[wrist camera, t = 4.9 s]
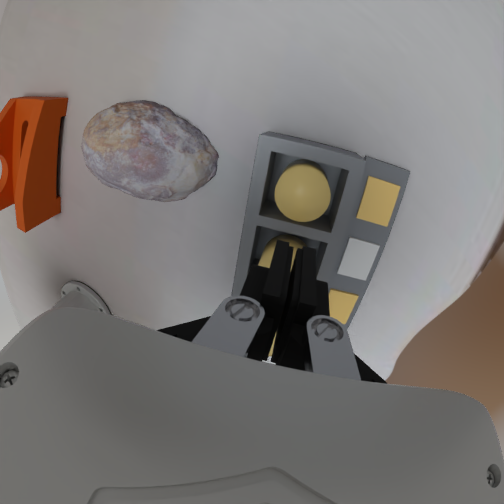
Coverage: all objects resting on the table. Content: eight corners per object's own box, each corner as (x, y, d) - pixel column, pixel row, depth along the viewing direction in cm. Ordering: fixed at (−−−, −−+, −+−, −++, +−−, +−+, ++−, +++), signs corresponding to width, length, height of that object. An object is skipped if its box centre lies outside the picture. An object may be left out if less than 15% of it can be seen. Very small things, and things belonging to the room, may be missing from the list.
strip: (344, 330, 36) (345, 335, 35) (309, 322, 36) (309, 327, 35) (408, 170, 25) (411, 172, 24) (365, 155, 25) (367, 157, 25)
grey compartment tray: (302, 321, 36) (299, 350, 31) (236, 304, 37) (225, 332, 32) (356, 153, 26) (366, 161, 21) (268, 131, 26) (259, 134, 22)
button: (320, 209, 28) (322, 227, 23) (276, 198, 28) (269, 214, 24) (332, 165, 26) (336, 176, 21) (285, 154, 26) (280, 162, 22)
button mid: (303, 280, 29) (300, 311, 24) (259, 270, 29) (249, 298, 25) (315, 241, 26) (315, 267, 22) (268, 229, 27) (258, 253, 22)
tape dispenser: (62, 211, 37) (25, 232, 30) (22, 193, 37) (-11, 210, 30) (70, 97, 28) (25, 102, 21) (26, 96, 29) (-12, 102, 21)
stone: (229, 166, 35) (235, 116, 25) (192, 234, 32) (183, 197, 22) (124, 127, 35) (106, 79, 25) (84, 183, 32) (52, 142, 22)
